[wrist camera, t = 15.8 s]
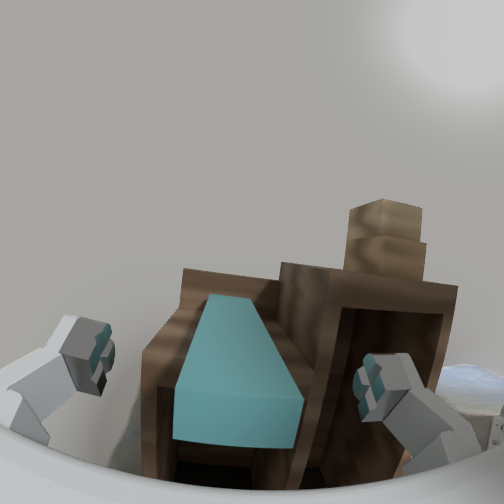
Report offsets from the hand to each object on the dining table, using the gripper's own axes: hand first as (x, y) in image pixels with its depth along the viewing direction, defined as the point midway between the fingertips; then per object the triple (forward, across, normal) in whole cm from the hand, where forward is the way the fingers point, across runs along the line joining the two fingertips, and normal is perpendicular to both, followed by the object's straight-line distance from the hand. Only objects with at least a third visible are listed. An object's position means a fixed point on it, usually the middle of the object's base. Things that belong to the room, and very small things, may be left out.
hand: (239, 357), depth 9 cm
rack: (+2, -5, +28) cm, 28 cm away
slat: (+8, 0, +8) cm, 11 cm away
